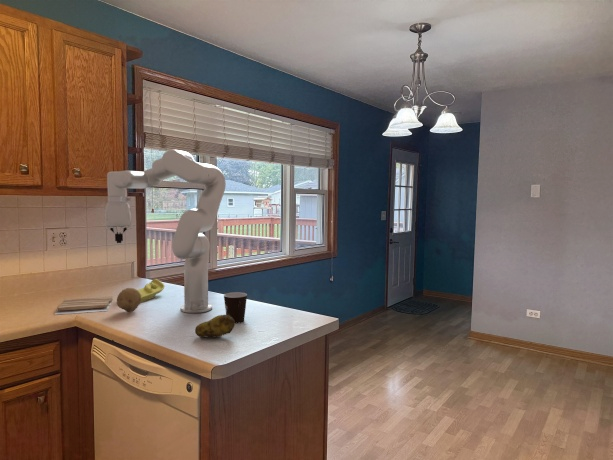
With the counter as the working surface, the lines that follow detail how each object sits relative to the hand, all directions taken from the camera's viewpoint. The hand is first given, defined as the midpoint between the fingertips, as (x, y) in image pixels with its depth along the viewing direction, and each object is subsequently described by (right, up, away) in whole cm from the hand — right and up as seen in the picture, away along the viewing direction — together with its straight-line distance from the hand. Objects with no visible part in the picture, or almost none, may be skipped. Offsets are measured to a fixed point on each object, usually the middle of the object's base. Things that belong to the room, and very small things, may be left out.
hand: (119, 242), depth 186 cm
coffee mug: (+54, -29, -26) cm, 67 cm away
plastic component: (+7, -26, +11) cm, 29 cm away
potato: (+51, -30, -44) cm, 74 cm away
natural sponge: (+10, -28, -14) cm, 33 cm away
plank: (-11, -26, -8) cm, 30 cm away
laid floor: (-12, -27, -5) cm, 30 cm away
